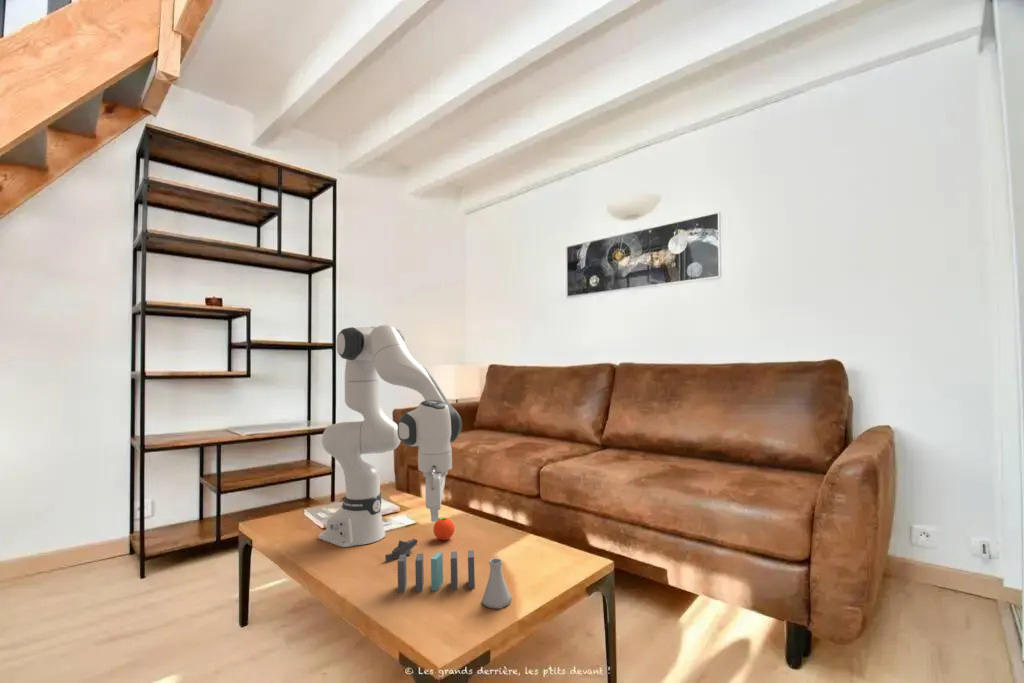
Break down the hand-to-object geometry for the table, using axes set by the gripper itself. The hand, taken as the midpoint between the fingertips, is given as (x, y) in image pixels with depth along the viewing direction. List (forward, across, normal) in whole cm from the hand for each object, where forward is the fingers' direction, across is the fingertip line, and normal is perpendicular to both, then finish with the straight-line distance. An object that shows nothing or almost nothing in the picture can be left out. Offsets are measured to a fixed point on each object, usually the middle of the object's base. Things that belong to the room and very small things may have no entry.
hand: (436, 514), depth 128 cm
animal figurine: (+19, +22, +12) cm, 31 cm away
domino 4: (+19, 0, -4) cm, 19 cm away
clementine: (+19, +33, 0) cm, 38 cm away
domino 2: (+19, 0, +4) cm, 19 cm away
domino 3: (+19, 0, 0) cm, 19 cm away
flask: (+19, -10, -15) cm, 26 cm away
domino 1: (+19, 0, +9) cm, 21 cm away
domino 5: (+19, 0, -9) cm, 21 cm away
